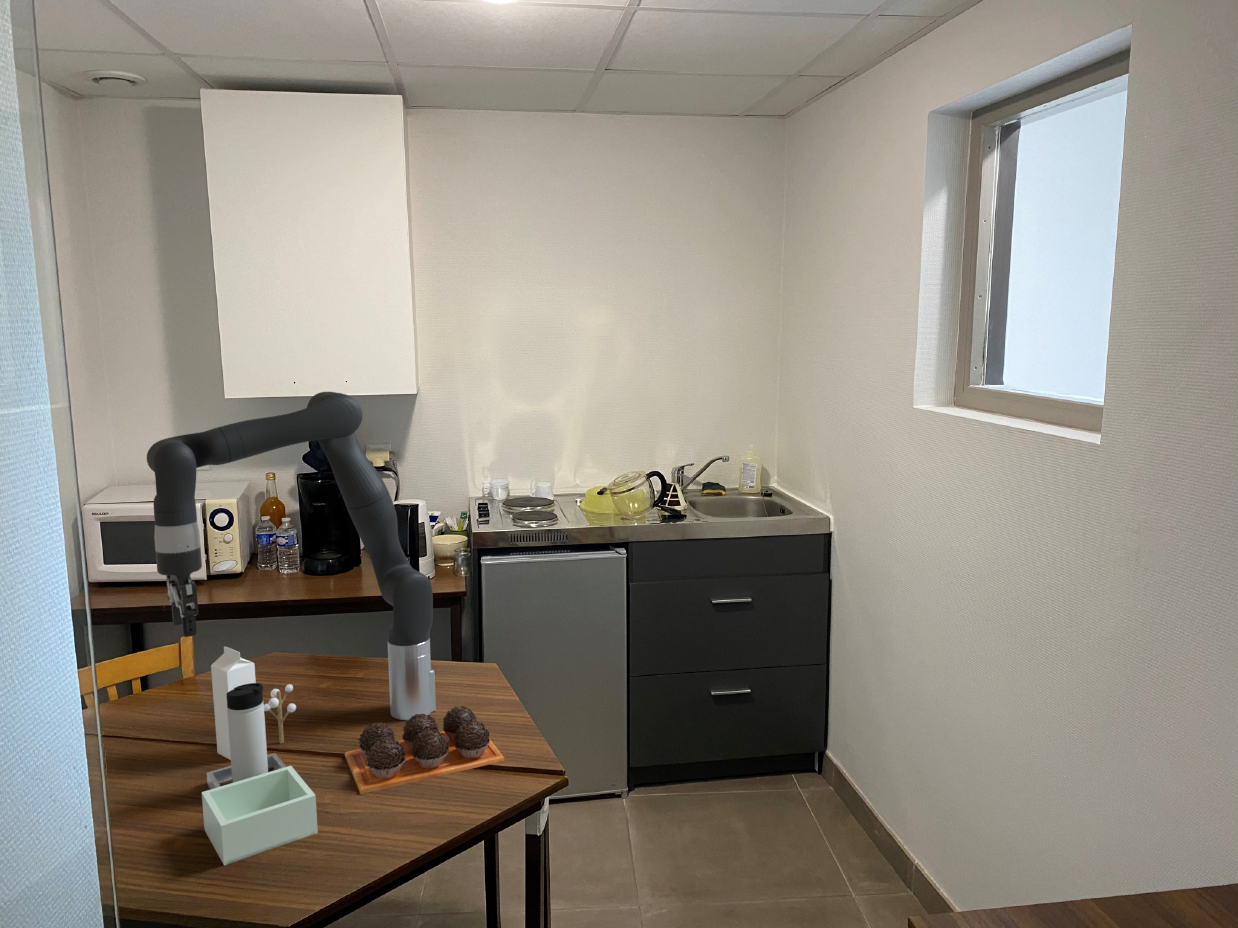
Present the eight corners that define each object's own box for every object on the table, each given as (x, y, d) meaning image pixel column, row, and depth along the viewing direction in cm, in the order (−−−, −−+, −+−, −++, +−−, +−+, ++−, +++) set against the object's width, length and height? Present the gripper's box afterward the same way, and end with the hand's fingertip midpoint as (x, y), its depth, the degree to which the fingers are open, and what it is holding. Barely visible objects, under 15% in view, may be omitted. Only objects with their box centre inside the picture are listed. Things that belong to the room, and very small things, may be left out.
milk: (244, 742, 182) (238, 641, 178) (260, 750, 178) (254, 647, 175) (216, 753, 177) (209, 649, 174) (232, 762, 173) (225, 656, 170)
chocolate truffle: (478, 730, 188) (477, 693, 187) (504, 764, 173) (503, 724, 172) (345, 759, 175) (343, 719, 174) (360, 797, 161) (358, 755, 160)
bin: (293, 802, 158) (291, 765, 157) (317, 834, 148) (315, 795, 147) (204, 831, 149) (201, 792, 148) (224, 867, 139) (221, 825, 138)
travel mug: (257, 797, 160) (250, 694, 157) (225, 793, 161) (218, 691, 158) (277, 780, 166) (270, 681, 163) (246, 776, 167) (239, 678, 164)
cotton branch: (298, 747, 179) (294, 692, 177) (264, 752, 177) (260, 696, 175) (299, 732, 186) (296, 679, 184) (266, 736, 184) (263, 682, 182)
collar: (275, 764, 172) (275, 752, 172) (294, 788, 163) (294, 776, 163) (207, 784, 164) (206, 772, 164) (223, 811, 155) (222, 798, 155)
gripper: (209, 550, 159) (215, 635, 161) (191, 536, 170) (197, 616, 172) (163, 557, 154) (170, 644, 157) (148, 542, 165) (155, 623, 168)
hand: (184, 629), depth 164 cm, fingers open, 8 cm apart
